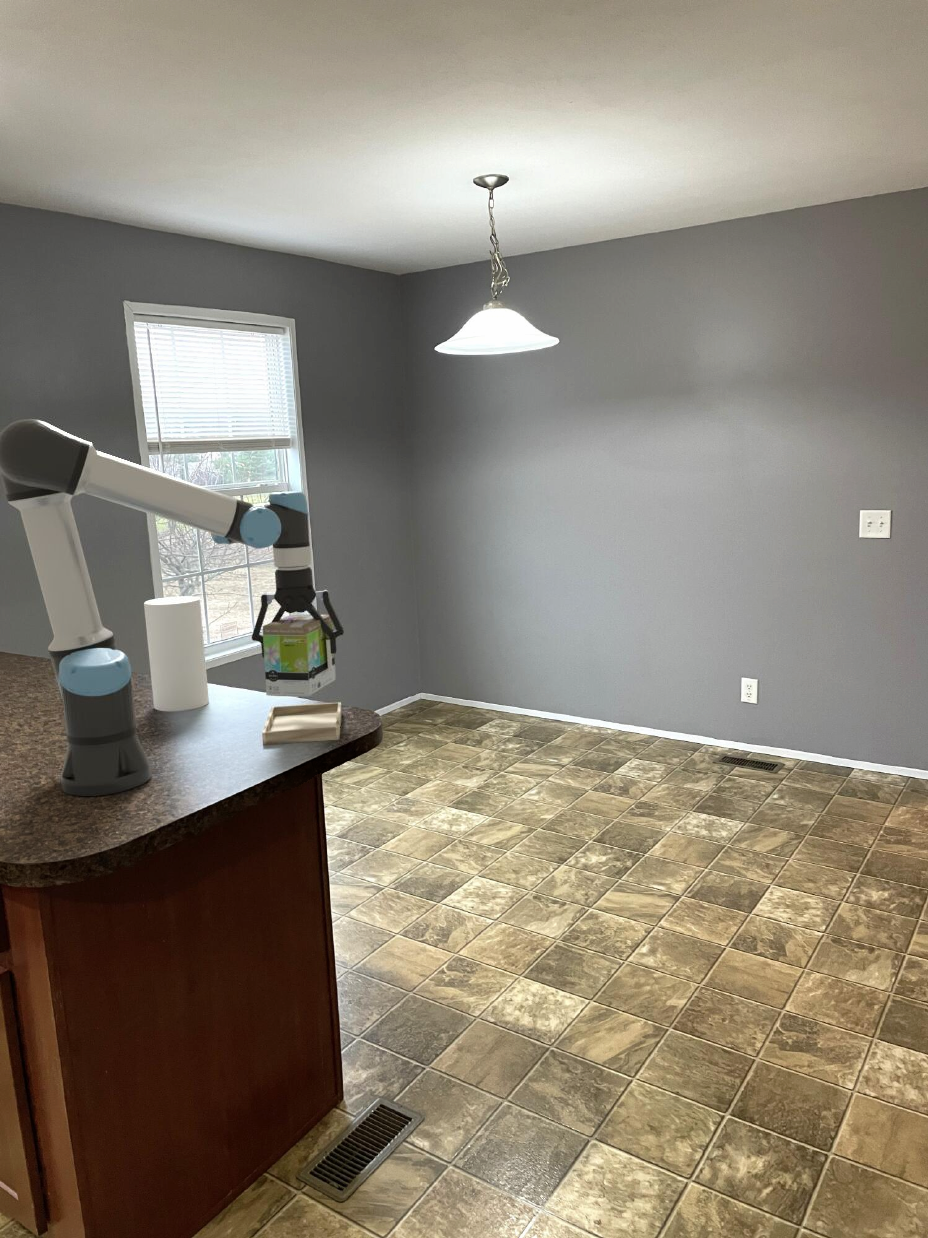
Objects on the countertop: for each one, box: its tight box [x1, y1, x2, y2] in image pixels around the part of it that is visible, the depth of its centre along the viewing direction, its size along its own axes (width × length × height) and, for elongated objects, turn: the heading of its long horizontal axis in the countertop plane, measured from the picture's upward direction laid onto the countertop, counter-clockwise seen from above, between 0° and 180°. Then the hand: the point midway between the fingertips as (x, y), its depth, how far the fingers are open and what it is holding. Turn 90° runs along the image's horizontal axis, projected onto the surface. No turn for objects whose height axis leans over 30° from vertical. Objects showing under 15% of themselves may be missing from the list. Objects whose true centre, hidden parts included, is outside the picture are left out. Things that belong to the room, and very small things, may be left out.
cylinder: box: [143, 595, 210, 712], centre depth 219 cm, size 12×12×25 cm
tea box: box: [262, 614, 336, 698], centre depth 194 cm, size 15×10×15 cm, turn 168°
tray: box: [261, 701, 343, 746], centre depth 197 cm, size 20×15×2 cm
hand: (301, 671), depth 195 cm, fingers closed on tea box, 11 cm apart
